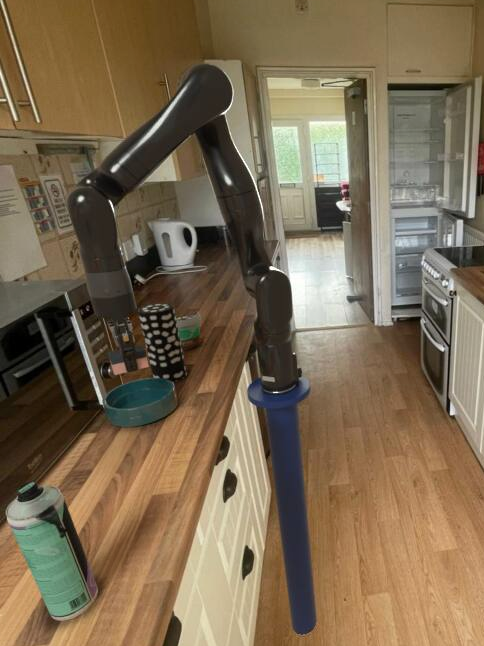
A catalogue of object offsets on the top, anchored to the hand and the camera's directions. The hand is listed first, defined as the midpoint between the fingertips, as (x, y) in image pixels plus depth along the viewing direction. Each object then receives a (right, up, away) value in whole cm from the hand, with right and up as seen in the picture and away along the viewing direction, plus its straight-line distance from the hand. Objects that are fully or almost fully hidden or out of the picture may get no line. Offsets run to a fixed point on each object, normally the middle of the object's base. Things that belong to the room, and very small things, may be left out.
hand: (130, 366), depth 92 cm
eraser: (0, 0, 0) cm, 0 cm away
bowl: (-3, -11, +10) cm, 15 cm away
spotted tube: (-4, -5, +26) cm, 26 cm away
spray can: (+13, -30, -34) cm, 47 cm away
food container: (-8, +3, +44) cm, 45 cm away
